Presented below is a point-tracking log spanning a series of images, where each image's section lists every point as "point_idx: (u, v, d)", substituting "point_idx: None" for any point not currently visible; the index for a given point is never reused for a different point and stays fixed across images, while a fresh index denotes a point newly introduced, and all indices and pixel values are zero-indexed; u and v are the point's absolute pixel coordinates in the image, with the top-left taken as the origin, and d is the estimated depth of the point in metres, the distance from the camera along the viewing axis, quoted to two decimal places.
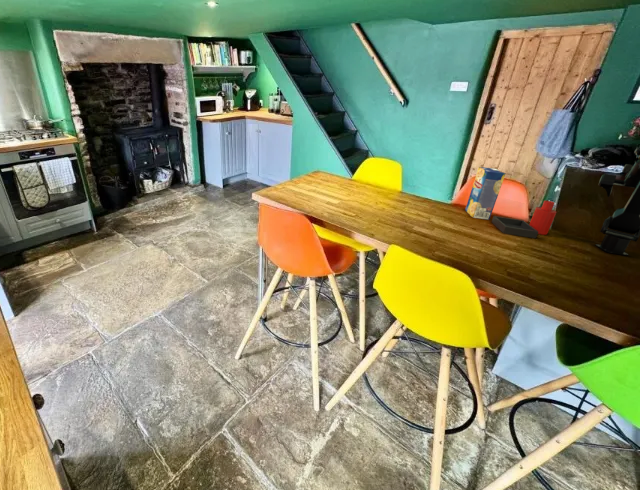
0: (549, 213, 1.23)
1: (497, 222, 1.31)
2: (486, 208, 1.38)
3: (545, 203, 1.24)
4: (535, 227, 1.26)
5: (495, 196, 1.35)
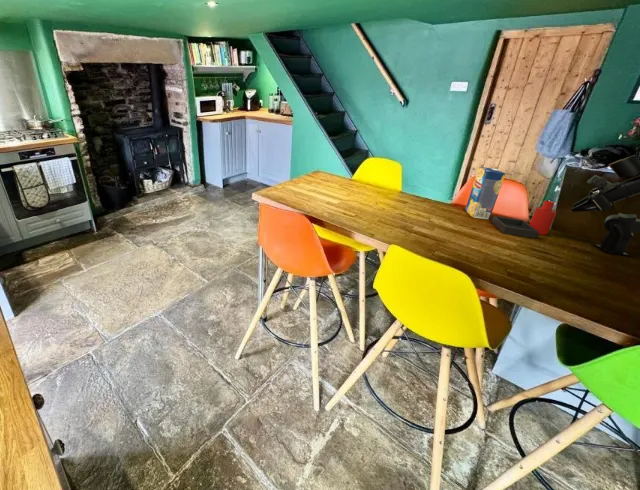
0: (549, 213, 1.23)
1: (497, 222, 1.31)
2: (486, 208, 1.38)
3: (545, 203, 1.24)
4: (535, 227, 1.26)
5: (495, 196, 1.35)
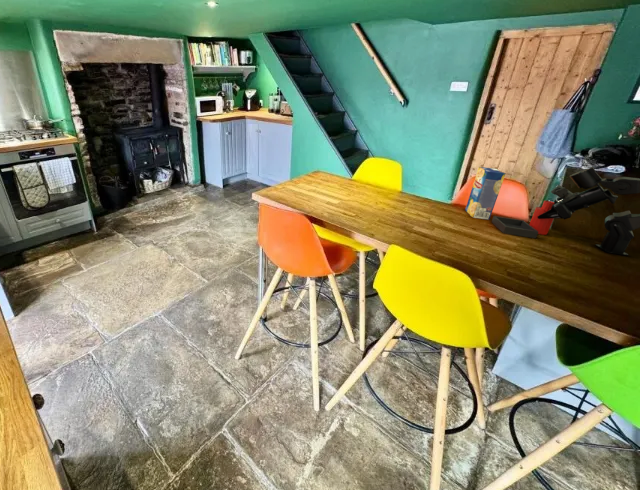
0: None
1: (497, 222, 1.31)
2: (486, 208, 1.38)
3: (545, 203, 1.24)
4: (535, 227, 1.26)
5: (495, 196, 1.35)
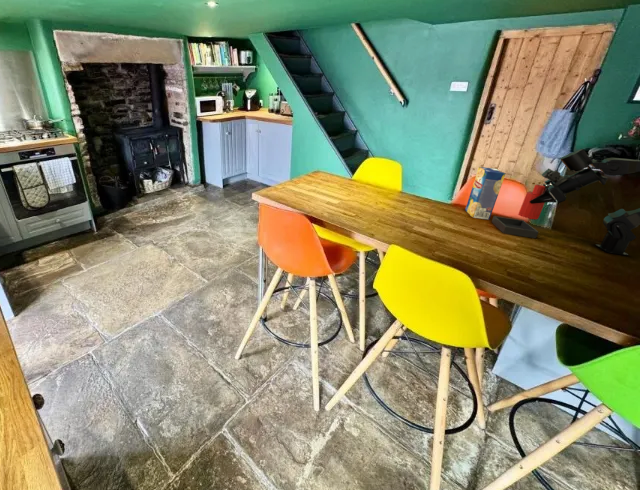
0: None
1: (497, 222, 1.31)
2: (486, 208, 1.38)
3: (536, 187, 1.22)
4: (527, 212, 1.25)
5: (495, 196, 1.35)
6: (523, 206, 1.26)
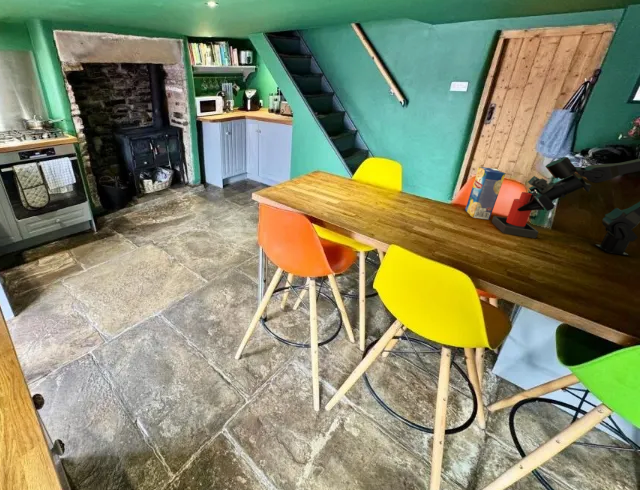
0: None
1: (497, 222, 1.31)
2: (486, 208, 1.38)
3: (523, 195, 1.23)
4: (515, 220, 1.25)
5: (495, 196, 1.35)
6: (511, 214, 1.26)
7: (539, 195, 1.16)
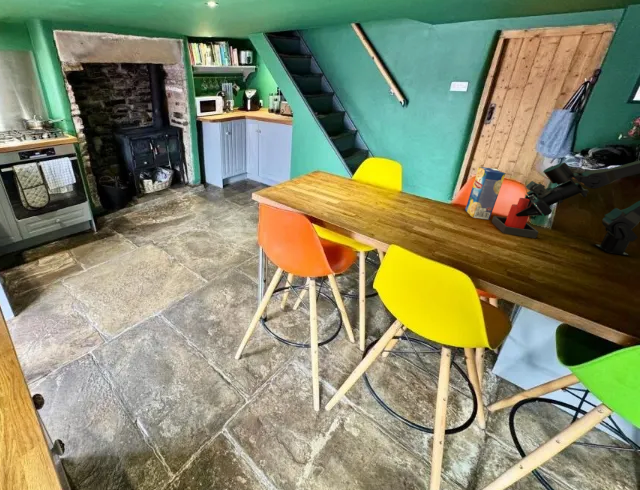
0: None
1: (497, 222, 1.31)
2: (486, 208, 1.38)
3: (521, 201, 1.24)
4: (513, 225, 1.26)
5: (495, 196, 1.35)
6: (509, 219, 1.27)
7: (537, 200, 1.16)
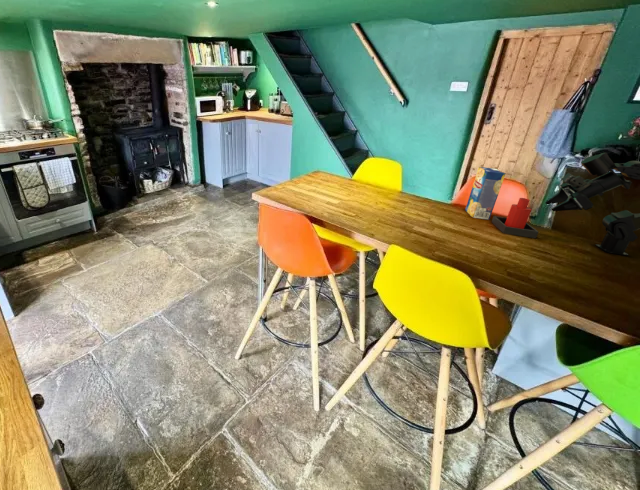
0: (526, 210, 1.22)
1: (497, 222, 1.31)
2: (486, 208, 1.38)
3: (521, 201, 1.24)
4: (513, 225, 1.26)
5: (495, 196, 1.35)
6: (509, 219, 1.27)
7: (576, 194, 1.10)
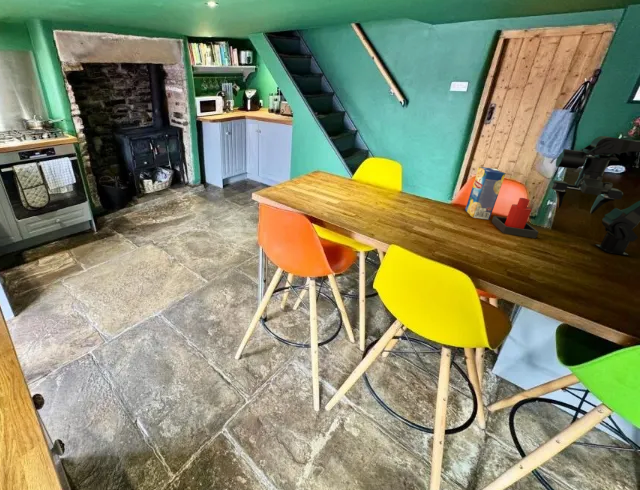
0: (526, 210, 1.22)
1: (497, 222, 1.31)
2: (486, 208, 1.38)
3: (521, 201, 1.24)
4: (513, 225, 1.26)
5: (495, 196, 1.35)
6: (509, 219, 1.27)
7: (614, 195, 1.07)
